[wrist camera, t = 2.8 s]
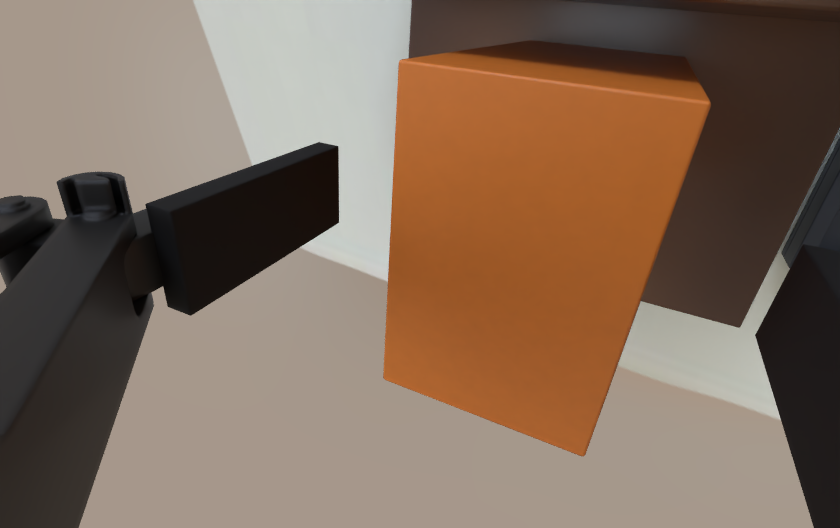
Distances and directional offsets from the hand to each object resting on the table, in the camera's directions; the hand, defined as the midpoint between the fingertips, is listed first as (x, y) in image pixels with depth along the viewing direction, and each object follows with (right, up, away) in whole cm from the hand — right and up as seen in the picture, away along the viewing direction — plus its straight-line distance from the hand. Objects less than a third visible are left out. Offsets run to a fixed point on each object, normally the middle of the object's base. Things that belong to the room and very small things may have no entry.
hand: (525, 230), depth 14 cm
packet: (+4, +4, +7) cm, 9 cm away
